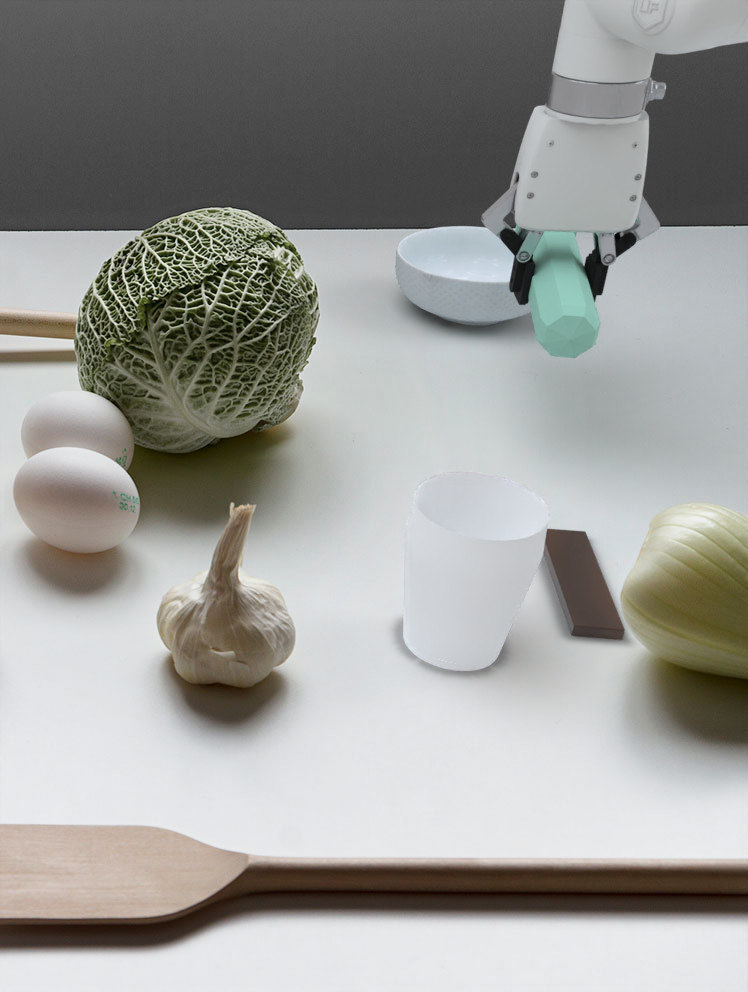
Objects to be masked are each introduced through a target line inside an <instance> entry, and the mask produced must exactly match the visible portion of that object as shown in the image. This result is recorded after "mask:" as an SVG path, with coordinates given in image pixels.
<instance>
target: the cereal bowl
mask: <svg viewBox="0 0 748 992" xmlns="http://www.w3.org/2000/svg"><path fill="white" fill-rule="evenodd" d="M394 259H395V260H394V269H395V278H396V282H397V284H398V286H399V289H400V290H401V292H402V293H403V294H404V297H405V298H407V299H408V300H409V301H410V302H411V303H412V304H414V305H416V306H417V307H418V308H420V309H422V310H424V311H426V312H429V313H430V314H432V315H435V316H437V317H439V318H441V319H442V320H444V321H445V320H446V321H448V322H451V323H455V324H460V325H466V326H490V325H491V326H492V325H496V324H498V323H501V322H503V321H509V320H512V319H513V320H514V319H516V318H520V317H522V316H525V315H527V314H531V309H530V303H529V302H528V304H526V305H519V304H518V302H517V299H516V297H515V295H514V292H510V290H509V283H510V277H511V272H512V267H513V261H514V255H513V253H512V252H511V251H510V250H509V249H508V248H507V247H506V245H505V244H504V243H503V242H502V240H501V239H499V238H498V237H497V236H496V235H495V234H493V233H492V232H491V231H490V230H489V229H488V228H487V227H486V226H468V225H457V226H456V225H455V226H454V225H453V226H440V227H434V228H433V227H432V228H427V229H422V230H419V231H416V232H413V233H412V234H409V235H407V236H405V237H404V238H403V239H401V241H399V243H398V245H397V247H396V250H395V258H394Z"/></svg>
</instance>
